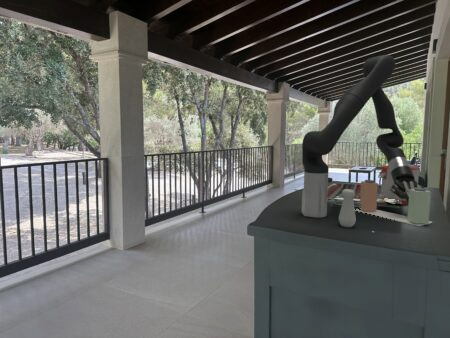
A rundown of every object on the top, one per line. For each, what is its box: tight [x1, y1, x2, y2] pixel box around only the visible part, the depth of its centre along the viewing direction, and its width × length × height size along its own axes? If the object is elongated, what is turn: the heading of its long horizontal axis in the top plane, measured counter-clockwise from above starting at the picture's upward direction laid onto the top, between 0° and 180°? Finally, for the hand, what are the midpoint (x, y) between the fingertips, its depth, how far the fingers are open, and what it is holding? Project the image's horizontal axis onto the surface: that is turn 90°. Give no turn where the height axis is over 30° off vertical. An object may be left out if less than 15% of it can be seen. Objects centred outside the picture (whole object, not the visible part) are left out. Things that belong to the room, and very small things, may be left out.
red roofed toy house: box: [377, 165, 420, 206], centre depth 161 cm, size 16×17×20 cm
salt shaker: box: [338, 188, 357, 228], centre depth 121 cm, size 6×6×13 cm
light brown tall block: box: [359, 179, 379, 211], centre depth 143 cm, size 5×5×12 cm
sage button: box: [407, 188, 432, 225], centre depth 124 cm, size 5×5×12 cm
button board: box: [355, 208, 433, 227], centre depth 136 cm, size 28×9×1 cm, turn 33°
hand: (414, 207), depth 127 cm, fingers closed
